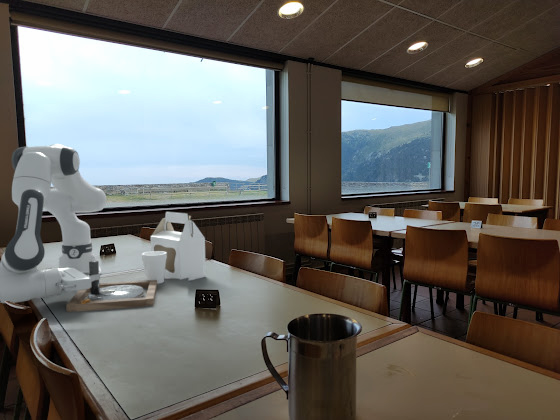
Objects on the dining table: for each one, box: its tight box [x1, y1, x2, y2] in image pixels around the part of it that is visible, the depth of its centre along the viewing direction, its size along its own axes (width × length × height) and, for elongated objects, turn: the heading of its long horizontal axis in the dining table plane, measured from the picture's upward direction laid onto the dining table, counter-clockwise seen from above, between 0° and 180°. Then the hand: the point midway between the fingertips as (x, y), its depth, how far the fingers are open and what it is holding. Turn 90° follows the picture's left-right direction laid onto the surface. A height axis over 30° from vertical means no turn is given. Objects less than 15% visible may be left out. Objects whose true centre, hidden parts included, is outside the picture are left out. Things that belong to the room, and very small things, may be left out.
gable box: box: [150, 211, 207, 281], centre depth 180 cm, size 22×13×28 cm, turn 49°
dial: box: [87, 260, 145, 301], centre depth 143 cm, size 18×18×13 cm
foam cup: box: [141, 251, 167, 285], centre depth 165 cm, size 10×9×13 cm
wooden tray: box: [65, 279, 158, 313], centre depth 144 cm, size 26×26×4 cm
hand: (97, 275), depth 142 cm, fingers open, 3 cm apart
